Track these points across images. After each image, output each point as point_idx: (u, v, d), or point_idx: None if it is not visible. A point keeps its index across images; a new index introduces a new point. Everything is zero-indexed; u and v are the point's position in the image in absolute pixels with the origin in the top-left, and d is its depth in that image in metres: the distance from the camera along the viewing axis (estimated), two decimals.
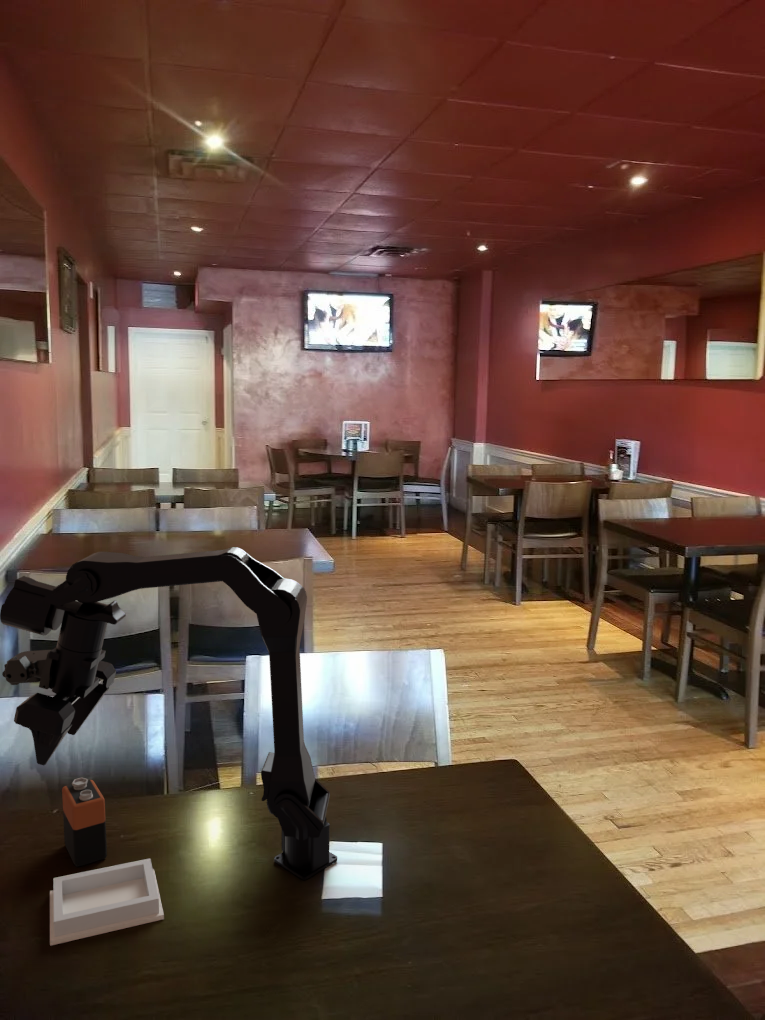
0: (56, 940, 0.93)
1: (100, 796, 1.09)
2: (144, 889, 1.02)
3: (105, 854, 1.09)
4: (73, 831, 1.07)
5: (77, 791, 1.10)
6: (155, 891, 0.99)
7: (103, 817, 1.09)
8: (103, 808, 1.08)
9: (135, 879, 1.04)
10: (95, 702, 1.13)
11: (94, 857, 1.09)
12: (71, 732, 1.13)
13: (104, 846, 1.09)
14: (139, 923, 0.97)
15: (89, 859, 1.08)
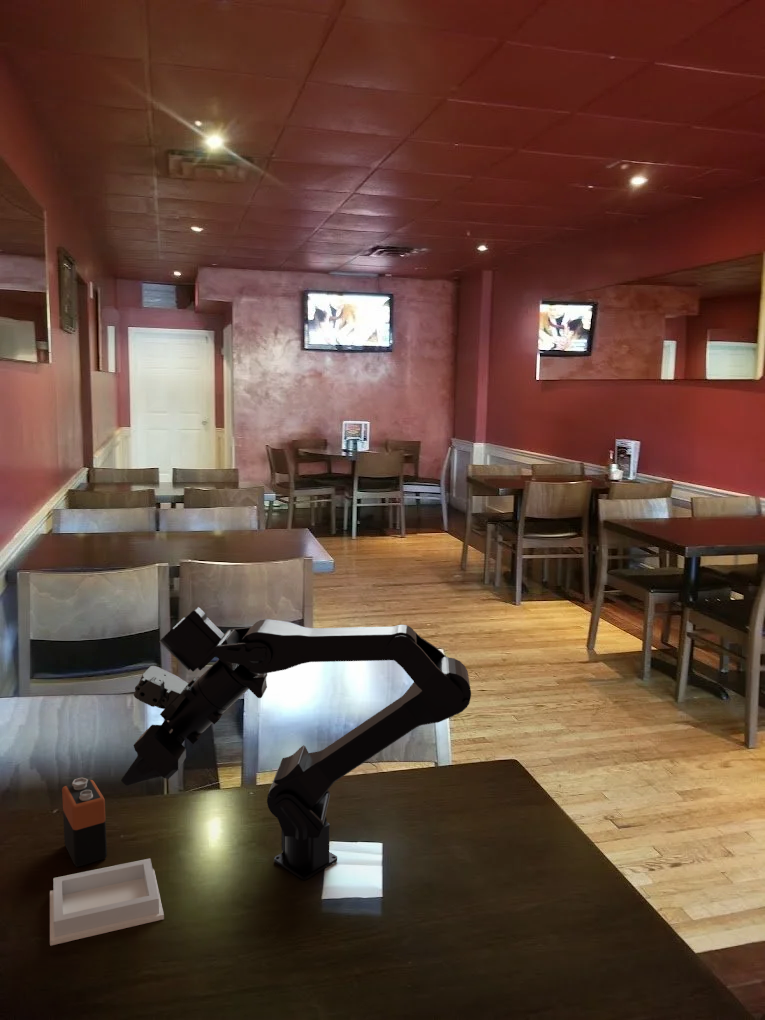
0: (56, 940, 0.93)
1: (100, 796, 1.09)
2: (144, 889, 1.02)
3: (105, 854, 1.09)
4: (73, 831, 1.07)
5: (77, 791, 1.10)
6: (155, 891, 0.99)
7: (103, 817, 1.09)
8: (103, 808, 1.08)
9: (135, 879, 1.04)
10: None
11: (94, 857, 1.09)
12: None
13: (104, 846, 1.09)
14: (139, 923, 0.97)
15: (89, 859, 1.08)
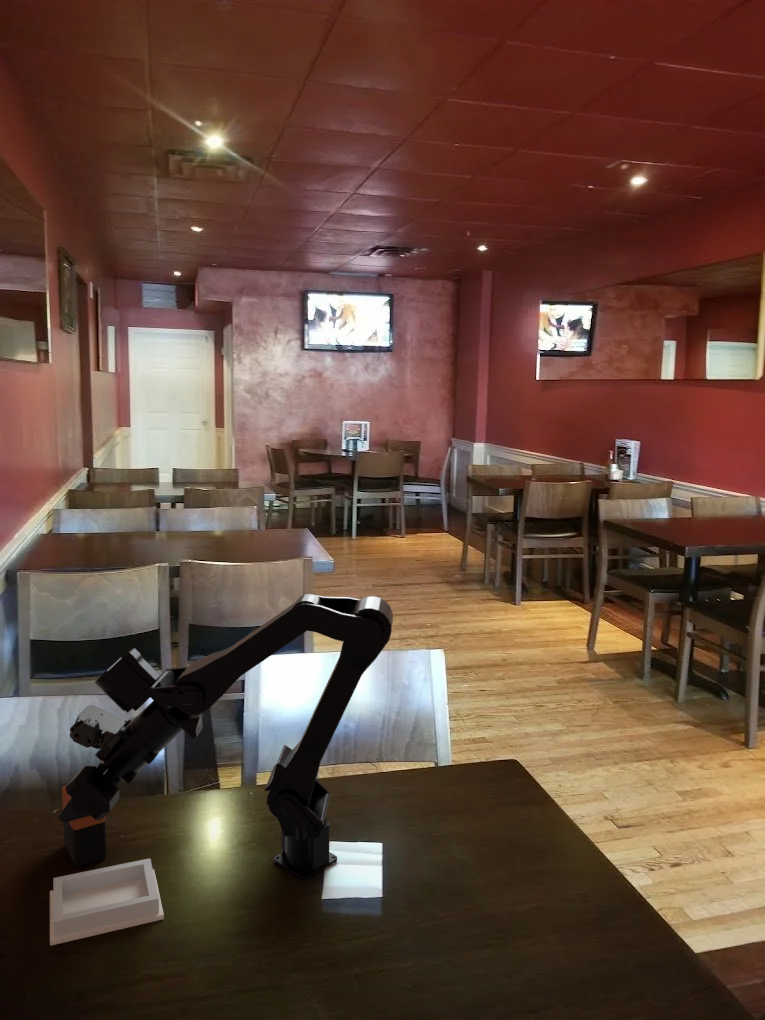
0: (56, 940, 0.93)
1: None
2: (144, 889, 1.02)
3: (105, 854, 1.09)
4: (73, 831, 1.07)
5: None
6: (155, 891, 0.99)
7: (103, 817, 1.09)
8: None
9: (135, 879, 1.04)
10: None
11: (94, 857, 1.09)
12: None
13: (104, 846, 1.09)
14: (139, 923, 0.97)
15: (89, 859, 1.08)
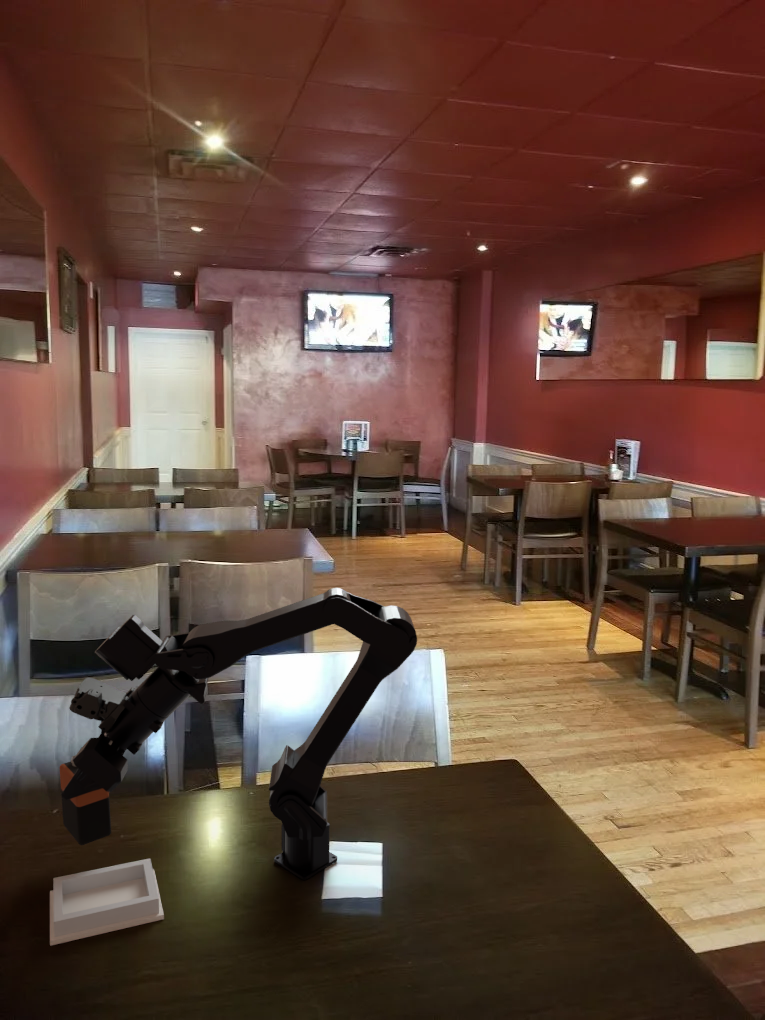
0: (56, 940, 0.93)
1: None
2: (144, 889, 1.02)
3: (109, 831, 1.06)
4: (77, 808, 1.03)
5: (77, 767, 1.06)
6: (155, 891, 0.99)
7: (107, 792, 1.05)
8: None
9: (135, 879, 1.04)
10: None
11: (99, 834, 1.05)
12: None
13: (108, 822, 1.05)
14: (139, 923, 0.97)
15: (94, 836, 1.04)
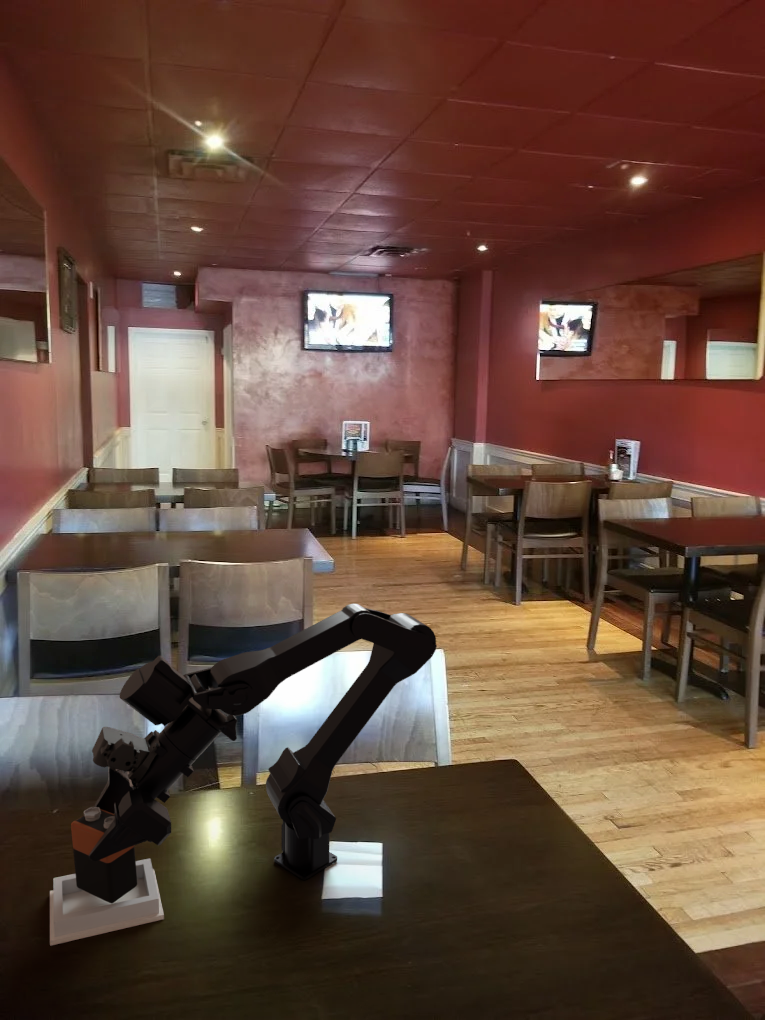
0: (56, 940, 0.93)
1: None
2: (144, 889, 1.02)
3: (136, 882, 0.99)
4: (106, 865, 0.95)
5: (94, 822, 0.98)
6: (155, 891, 0.99)
7: None
8: None
9: None
10: None
11: (127, 887, 0.98)
12: None
13: (135, 873, 0.99)
14: (139, 923, 0.97)
15: (123, 891, 0.97)
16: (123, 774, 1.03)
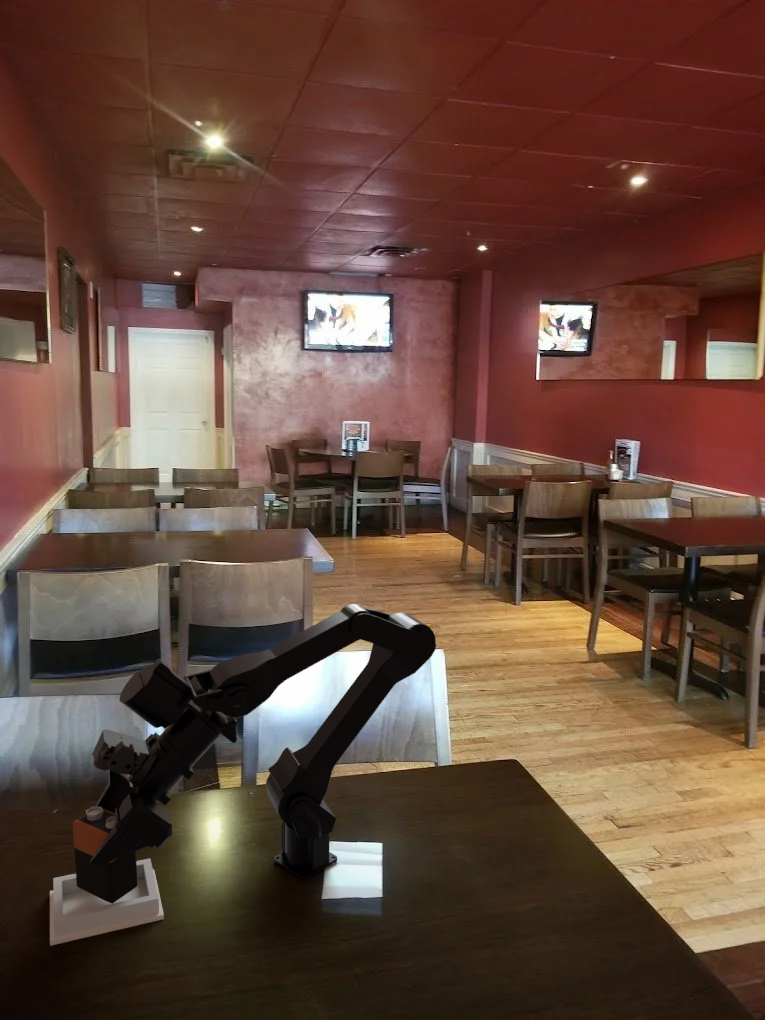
0: (56, 940, 0.93)
1: None
2: (144, 889, 1.02)
3: (136, 882, 0.99)
4: (107, 864, 0.95)
5: (96, 821, 0.98)
6: (155, 891, 0.99)
7: None
8: None
9: None
10: None
11: (128, 888, 0.98)
12: None
13: (136, 873, 0.99)
14: (139, 923, 0.97)
15: (123, 891, 0.97)
16: (123, 774, 1.04)
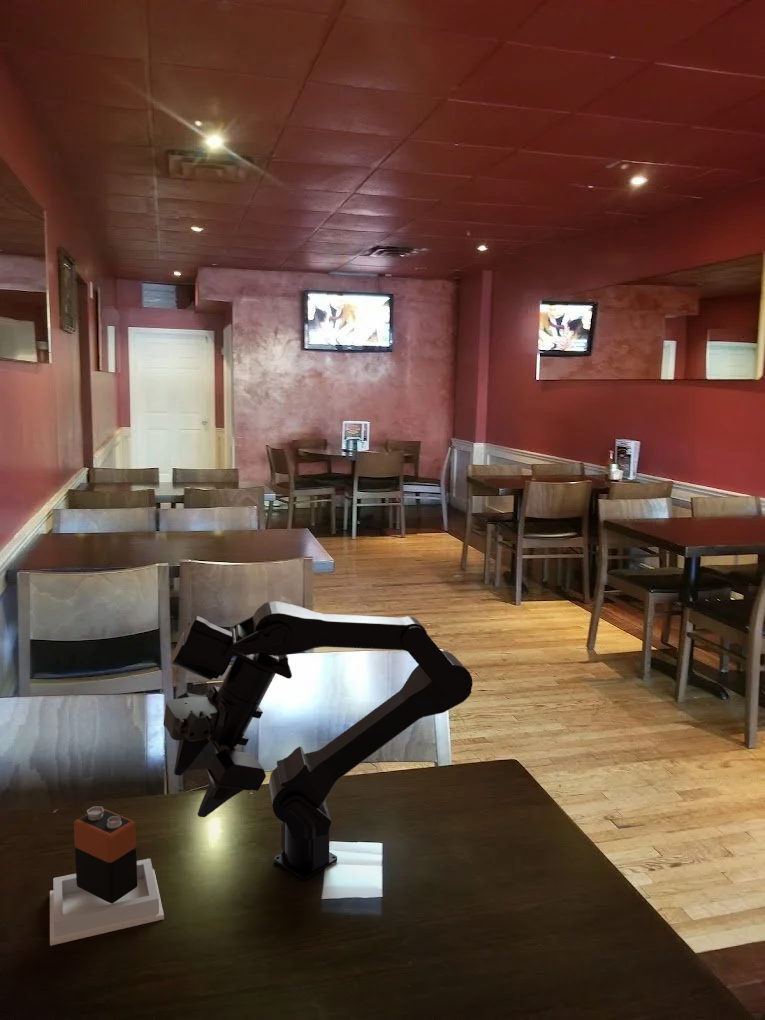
0: (56, 940, 0.93)
1: (129, 820, 0.98)
2: (144, 889, 1.02)
3: None
4: (108, 864, 0.95)
5: (97, 821, 0.98)
6: (155, 891, 0.99)
7: (135, 842, 0.98)
8: (135, 832, 0.98)
9: None
10: (208, 741, 1.10)
11: (128, 888, 0.98)
12: (179, 773, 1.08)
13: (136, 874, 0.99)
14: (139, 923, 0.97)
15: (123, 892, 0.97)
16: None
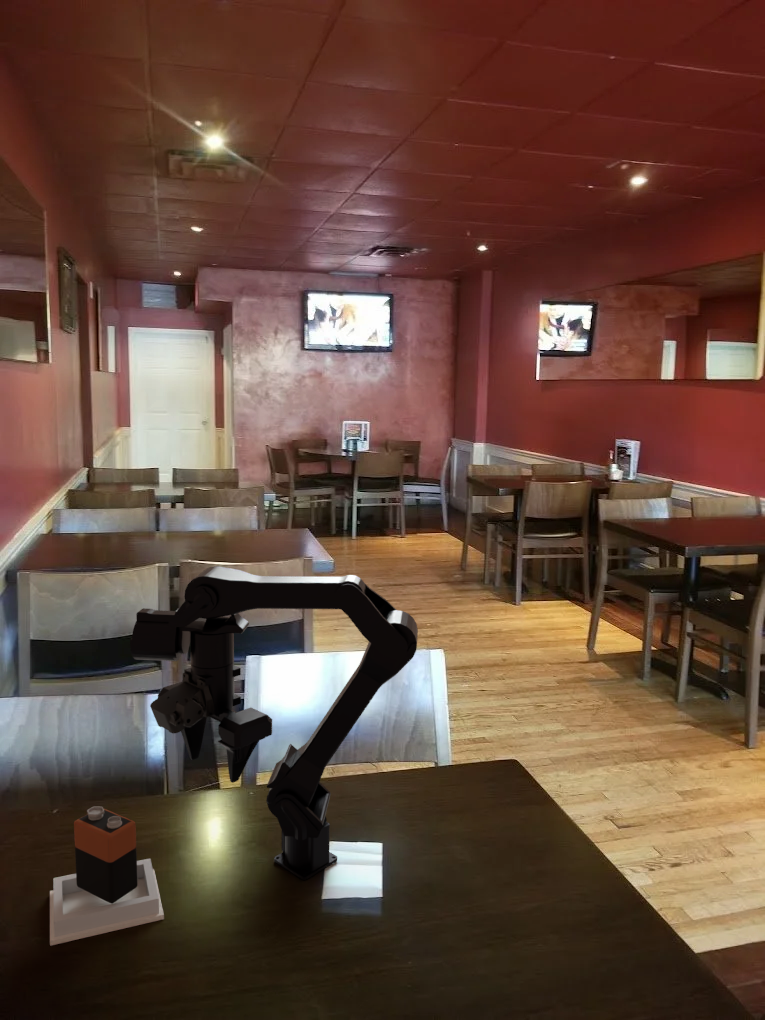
0: (56, 940, 0.93)
1: (129, 820, 0.98)
2: (144, 889, 1.02)
3: None
4: (108, 864, 0.95)
5: (97, 821, 0.98)
6: (155, 891, 0.99)
7: (135, 842, 0.98)
8: (135, 832, 0.98)
9: None
10: (206, 716, 1.13)
11: (128, 888, 0.98)
12: (195, 756, 1.12)
13: (136, 874, 0.99)
14: (139, 923, 0.97)
15: (123, 892, 0.97)
16: None
